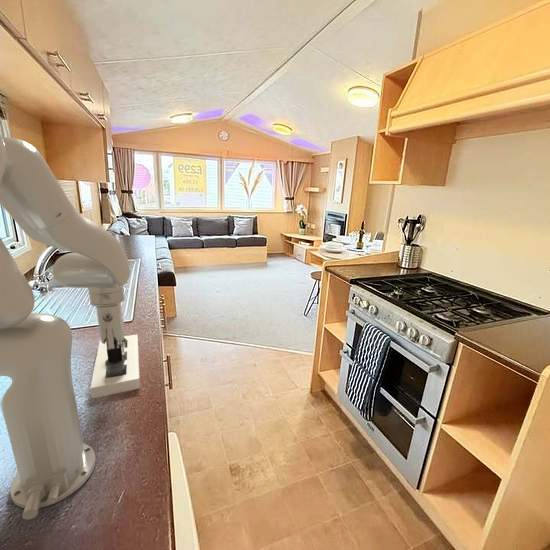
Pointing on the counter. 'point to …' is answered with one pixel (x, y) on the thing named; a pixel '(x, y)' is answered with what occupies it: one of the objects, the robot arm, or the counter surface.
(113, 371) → the knob near
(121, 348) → the knob middle
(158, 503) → the counter surface
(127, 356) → the panel
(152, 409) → the counter surface
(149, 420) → the counter surface
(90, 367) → the counter surface
